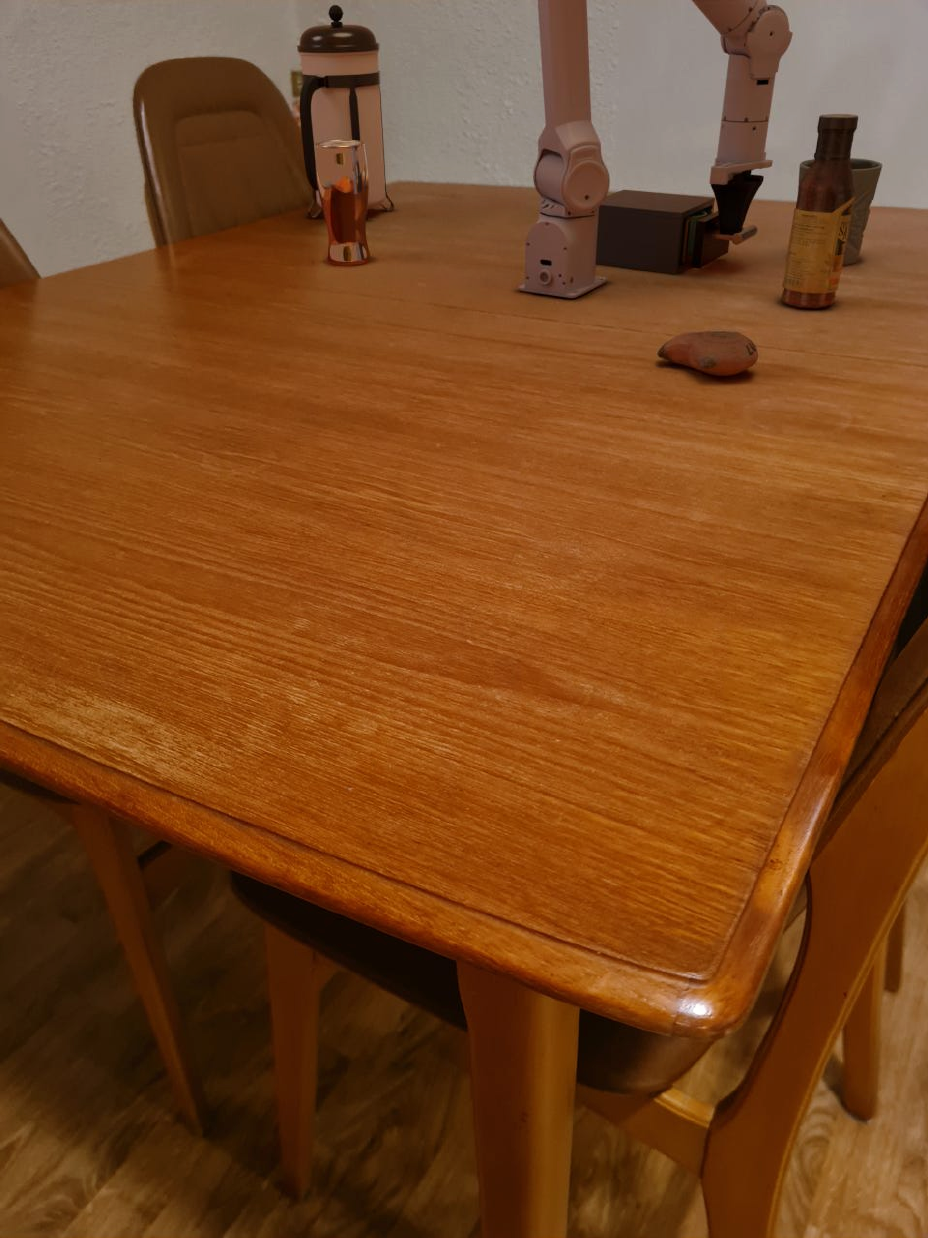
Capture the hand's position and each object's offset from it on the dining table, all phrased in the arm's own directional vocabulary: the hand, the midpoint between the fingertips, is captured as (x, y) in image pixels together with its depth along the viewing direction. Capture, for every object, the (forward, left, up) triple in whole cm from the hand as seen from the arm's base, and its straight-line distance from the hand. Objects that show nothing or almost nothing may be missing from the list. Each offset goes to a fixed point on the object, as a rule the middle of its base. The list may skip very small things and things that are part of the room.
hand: (729, 235), depth 125 cm
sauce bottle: (-11, -14, -4) cm, 18 cm away
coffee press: (+4, +67, -4) cm, 68 cm away
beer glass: (-21, +47, -4) cm, 52 cm away
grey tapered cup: (+12, -10, -4) cm, 16 cm away
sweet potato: (-39, -13, -4) cm, 41 cm away
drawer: (0, +6, -3) cm, 7 cm away
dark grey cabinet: (0, +11, -4) cm, 12 cm away
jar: (0, +6, -2) cm, 6 cm away
